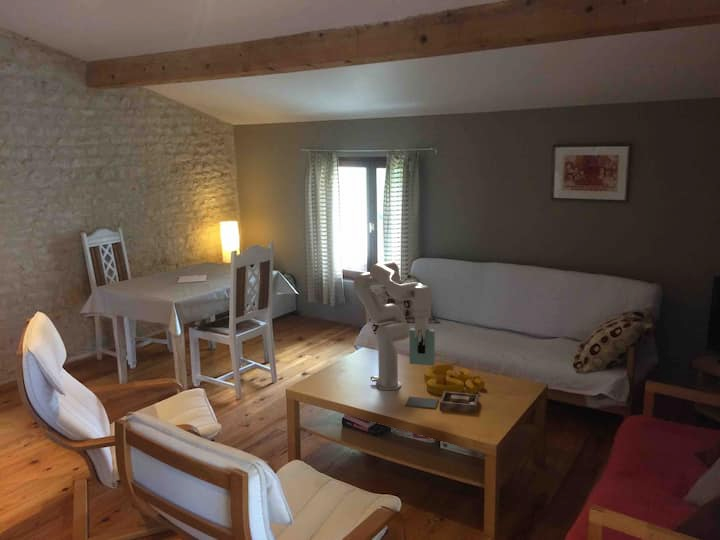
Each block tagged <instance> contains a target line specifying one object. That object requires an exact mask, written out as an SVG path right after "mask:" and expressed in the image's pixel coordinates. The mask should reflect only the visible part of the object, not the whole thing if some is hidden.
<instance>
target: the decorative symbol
mask: <svg viewBox="0 0 720 540" xmlns="http://www.w3.org/2000/svg"><path fill="white" fill-rule="evenodd" d="M459 371H460V372H459V373H457V372H456V371H455V370H454V366H453V365H452V364H438V365H434V366H431V367H429V368H427V369H425V371H424V372H423V375H424V378H423V380H424V381H426V391H427V390H428V391H429V393H430V392H431V394H433V393H434V394H433V395H438V394H440V395H439V396H442V395H443V393H444V391H446V392H457V393H465V392H464V390H466V392H467V393H468V394H477V393H478V392H479V391H481V390H484V389H485V381H484V380H482V377H480V376H479V375H477V376H473V373H472V371H470V370H468V369H467V368H465V367H463V368H461V369H460V370H459ZM483 388H484V389H483ZM480 389H481V390H480ZM428 391H427V392H428Z"/></svg>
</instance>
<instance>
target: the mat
mask: <svg viewBox="0 0 720 540" xmlns="http://www.w3.org/2000/svg"><path fill="white" fill-rule="evenodd" d="M439 402H440V399H439V398H429V397H428V398H427V397H418V396H410V395H409V397H408V398H407V400H406V402H405V403H404V407H409V406H411V407H412V408H419V407H421V409H429V408H430V409H432V410H436V409H435V408H437V406H438V404H437V403H439ZM411 407H410V408H411Z"/></svg>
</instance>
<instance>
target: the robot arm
mask: <svg viewBox="0 0 720 540" xmlns="http://www.w3.org/2000/svg"><path fill="white" fill-rule="evenodd" d="M400 282H401V275H400V269H399V266H398V264H397V263H396V262H394V261H385V262H378V263H375V264H373V265H372V266H371V267H370V269H369V271H367V272H363V273H360V274H357V275H356V276H355V277H354V280H353V289H354V292H355V294H356V296H357V297H358V299H359V300H360V301H361V303H362V304H363V307H364V308H365V310H366V313H367V315H368V316H369V319H370V320H371V322H372V323H373V324H374V325H375V326H376V325H377V326H378V327H377V329H376V331H375V336H376V342H377V350H378V351H377V352H378V353H377V354H378V359H377V360H378V375H377V376H374V375H371V376H370V380H371V382H376V383H375V386H376V387H375V388H377V389H379V390H382V391H395V390H398V389H400V388H401V387H402V382H401V381H399V366H398V365H399V357H398V356H399V355H398V349H397V347H396V346H395V343H398V342H404V341H406V340H408V339H410V329H411V327H410V325H409V324H408V322H407V320H406V317H405V315H403V312H402V311H401V309H400V307H399V306H398V305H397V304H396V303H387V304H383V302H382V301H381V299H380V297H379V296H378V295H377V294H376V293H375V292H374V291H372V290H373V289H378V288H379V289H380V288H384V287H385V290H386V293H387V294H388V295H389V296H390V297H391V298H392V299H394V300H397V301H398V302H399V301H401V302H403V301H404V302H405V301H409V300H413V318H415V320H414V328H415V332H414V338H415V339H416V338H417V337H418V353H421V354H424V353H425V345H424V339H425V338H426V333H427V330H428V329H429V318H430V317H431V300H432V299H431V295H432V294H431V293H432V292H431V290H432V289H431V287H430V286H429V285H425V284H422V283H421V282H419V281H412V282H405V283H400ZM422 337H423V338H422ZM422 340H423V341H422Z"/></svg>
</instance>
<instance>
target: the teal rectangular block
mask: <svg viewBox="0 0 720 540" xmlns="http://www.w3.org/2000/svg"><path fill="white" fill-rule="evenodd" d="M414 332H415V327H414V328H413V327H410V336H409V364H410V365H420V366H431V367H433V366H435V364H436V362H435V359H436V358H435V357H436V355H435V354H436V353H435V352H436V351H435V350H436V344H435V343H436V329H432V328H431V329H430V328H428V330H427V333H426V338H425V339H424V345H425V353H424V354H421V353H418V337H417V338H416V339H415V338H414ZM422 338H423V337H422ZM422 341H423V340H422Z"/></svg>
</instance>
